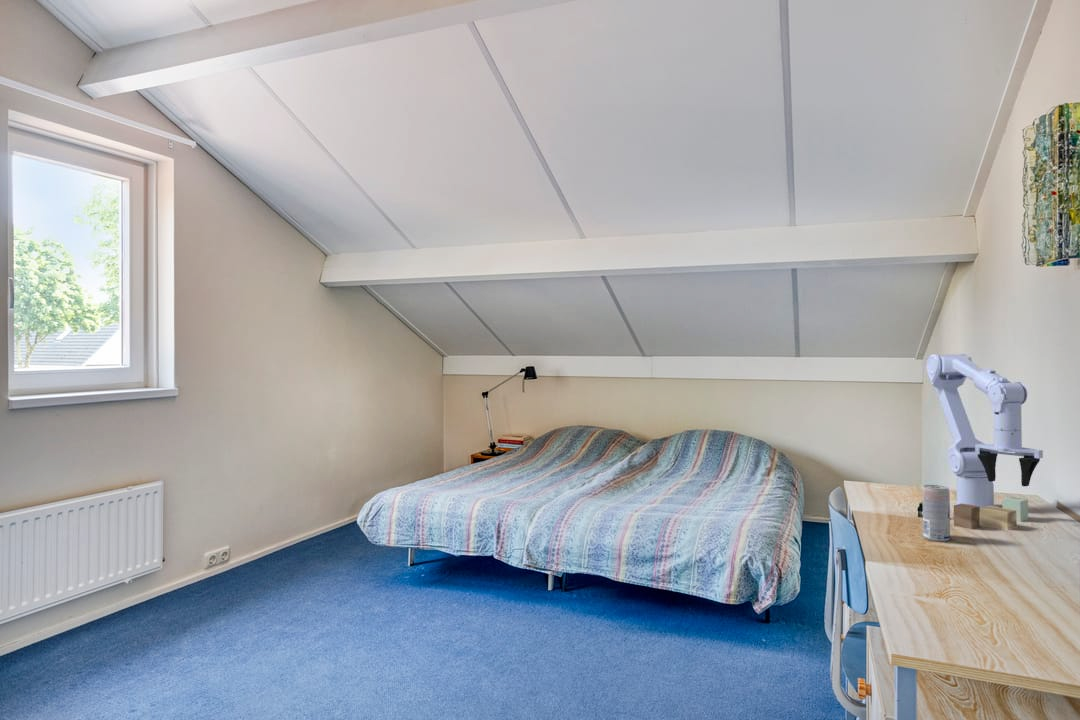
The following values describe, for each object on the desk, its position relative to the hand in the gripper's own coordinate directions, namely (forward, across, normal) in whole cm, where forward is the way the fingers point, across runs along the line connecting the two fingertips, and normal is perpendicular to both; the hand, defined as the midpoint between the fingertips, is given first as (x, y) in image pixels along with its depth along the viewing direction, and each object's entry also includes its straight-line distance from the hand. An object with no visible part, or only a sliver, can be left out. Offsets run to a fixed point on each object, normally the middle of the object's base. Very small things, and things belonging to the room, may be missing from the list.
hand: (1008, 483), depth 168 cm
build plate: (+10, -12, -14) cm, 21 cm away
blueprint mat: (+9, 0, -7) cm, 12 cm away
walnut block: (+10, -2, -16) cm, 19 cm away
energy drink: (+10, -1, -32) cm, 33 cm away
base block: (+9, +2, -10) cm, 13 cm away
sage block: (+10, +1, +2) cm, 10 cm away
